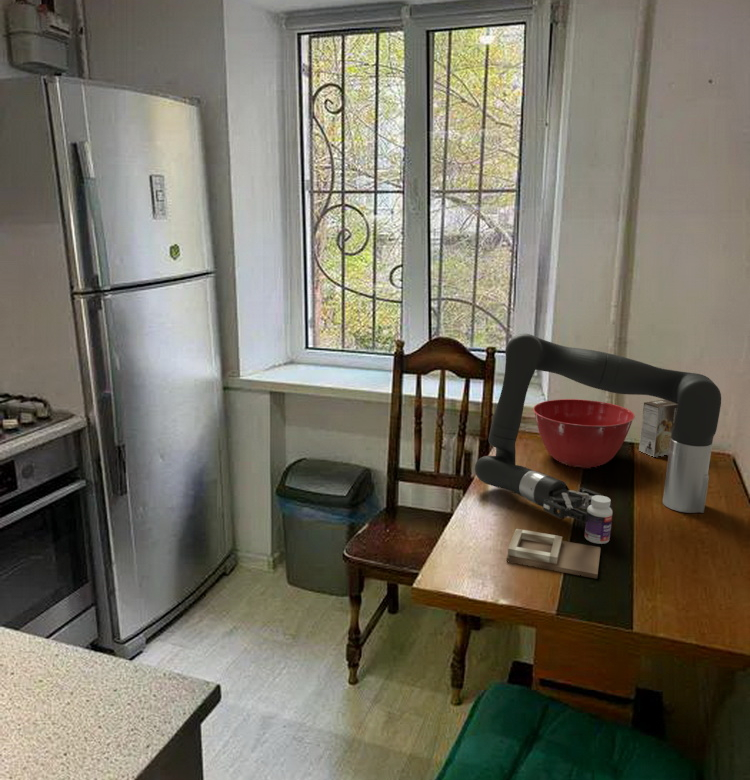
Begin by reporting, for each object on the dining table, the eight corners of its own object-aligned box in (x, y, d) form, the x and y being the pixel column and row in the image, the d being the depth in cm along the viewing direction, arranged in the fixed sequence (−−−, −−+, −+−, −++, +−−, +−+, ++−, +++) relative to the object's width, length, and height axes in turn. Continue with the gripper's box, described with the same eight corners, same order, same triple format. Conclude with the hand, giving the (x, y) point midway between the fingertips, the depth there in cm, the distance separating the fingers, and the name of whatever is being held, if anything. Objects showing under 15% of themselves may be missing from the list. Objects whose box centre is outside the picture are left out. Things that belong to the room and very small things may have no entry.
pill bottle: (606, 546, 145) (610, 505, 142) (581, 540, 147) (585, 500, 145) (612, 537, 149) (616, 497, 147) (587, 531, 152) (591, 491, 149)
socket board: (600, 551, 142) (601, 541, 142) (597, 578, 132) (598, 567, 131) (516, 536, 149) (516, 526, 148) (506, 561, 138) (507, 550, 137)
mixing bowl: (514, 464, 194) (518, 413, 190) (549, 439, 216) (553, 393, 212) (613, 486, 178) (619, 431, 174) (639, 456, 201) (645, 407, 197)
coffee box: (659, 448, 209) (665, 398, 205) (676, 454, 203) (682, 404, 199) (637, 451, 205) (643, 401, 201) (653, 458, 199) (660, 407, 195)
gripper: (523, 481, 155) (580, 505, 142) (564, 469, 163) (621, 491, 150) (521, 511, 157) (577, 537, 144) (561, 497, 165) (617, 521, 152)
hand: (599, 514), depth 147 cm, fingers open, 8 cm apart
